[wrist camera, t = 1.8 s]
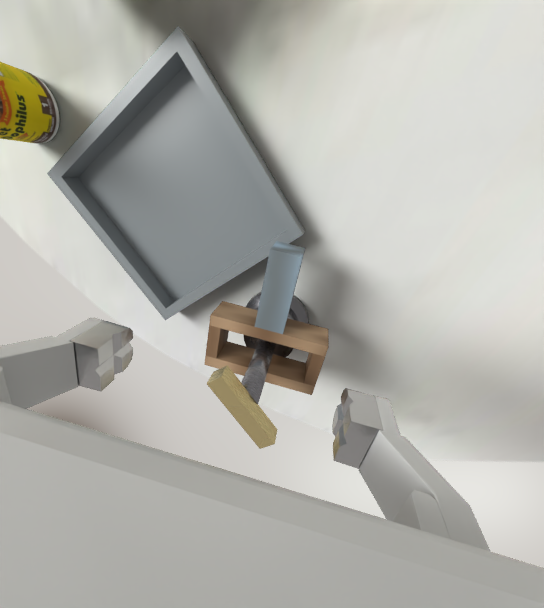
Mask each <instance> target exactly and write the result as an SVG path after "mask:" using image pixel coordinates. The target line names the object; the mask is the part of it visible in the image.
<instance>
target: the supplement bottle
mask: <svg viewBox="0 0 544 608" xmlns="http://www.w3.org/2000/svg"><path fill="white" fill-rule="evenodd" d="M59 120H60V119H59V110H58V106H57V103H56V101H55V99H54V97H53V95H52V93H51V91H50V90H49V89H48V87H47V86H46V85H45V84H44V83H43V82H42V81H41V80H40V79H39V78H37V77H36V76H34V75H32V74H30V73H28V72H26V71H23V70H21V69H18V68H15V67H13V66H10V65H7V64H5V63H2V62H0V138H1V139H8V140H16V141H23V142H30V143H46V142H48V141H50V140H51V139H52V138H53V137H54V136H55V135H56V133H57V131H58V128H59Z"/></svg>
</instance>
